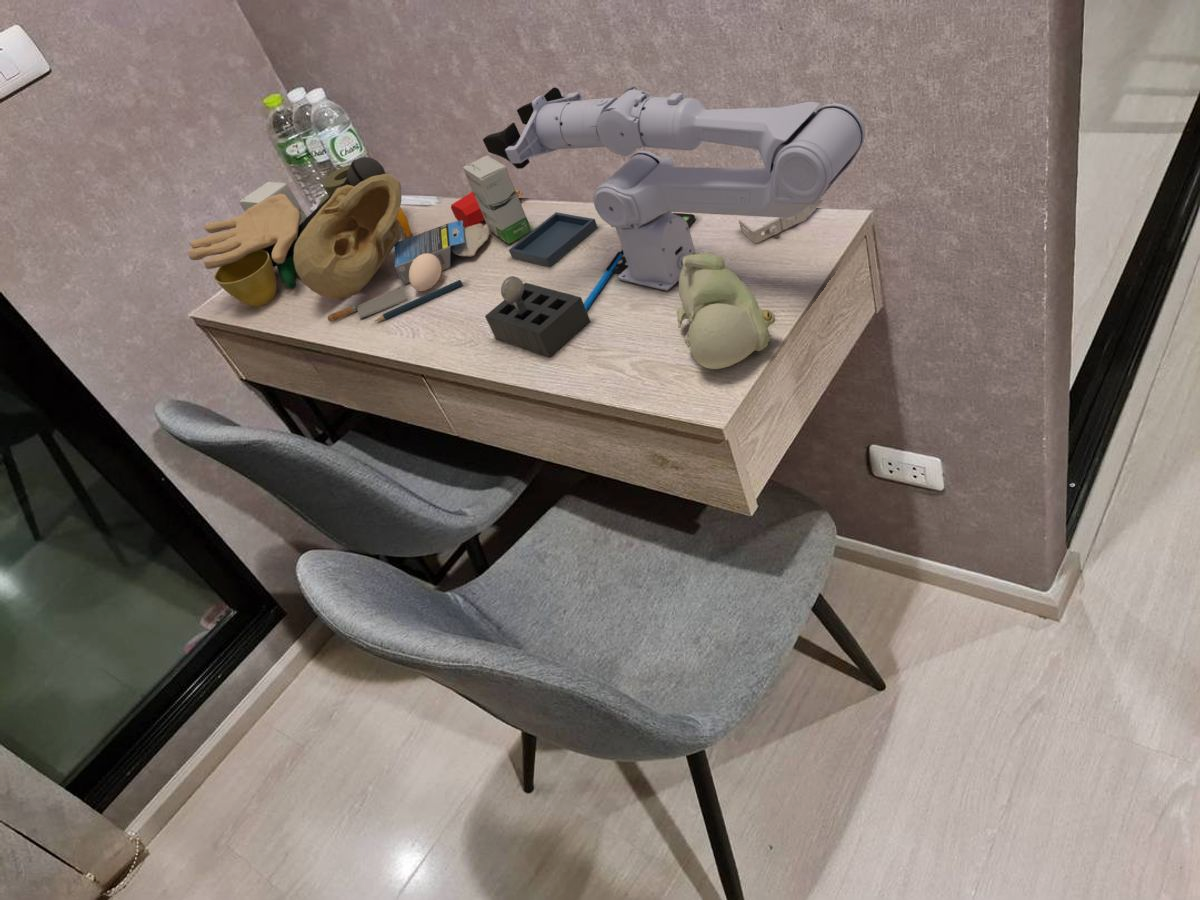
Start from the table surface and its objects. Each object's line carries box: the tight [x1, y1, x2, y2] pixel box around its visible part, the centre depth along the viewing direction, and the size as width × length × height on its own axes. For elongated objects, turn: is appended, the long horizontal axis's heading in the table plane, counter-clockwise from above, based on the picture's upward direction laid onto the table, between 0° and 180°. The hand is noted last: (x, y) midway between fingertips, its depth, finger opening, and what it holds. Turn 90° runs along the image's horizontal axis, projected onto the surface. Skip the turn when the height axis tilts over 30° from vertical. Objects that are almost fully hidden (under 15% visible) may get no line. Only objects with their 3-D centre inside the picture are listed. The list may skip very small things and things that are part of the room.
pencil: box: [374, 279, 464, 322], centre depth 134 cm, size 1×1×15 cm
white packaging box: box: [238, 181, 308, 225], centre depth 162 cm, size 7×7×13 cm
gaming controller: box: [276, 254, 300, 289], centre depth 155 cm, size 9×4×6 cm
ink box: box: [462, 154, 533, 245], centre depth 139 cm, size 9×5×12 cm, turn 29°
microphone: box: [298, 156, 386, 236], centre depth 150 cm, size 7×7×20 cm
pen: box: [583, 249, 624, 312], centre depth 120 cm, size 1×19×1 cm, turn 154°
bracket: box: [738, 200, 823, 244], centre depth 118 cm, size 2×6×15 cm
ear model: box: [293, 173, 403, 300], centre depth 140 cm, size 13×20×20 cm
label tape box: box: [394, 220, 465, 286], centre depth 142 cm, size 9×4×12 cm
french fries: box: [450, 190, 524, 228], centre depth 150 cm, size 8×4×12 cm
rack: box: [484, 282, 591, 358], centre depth 116 cm, size 12×8×4 cm
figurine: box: [676, 253, 776, 370], centre depth 101 cm, size 10×16×10 cm
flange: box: [317, 163, 389, 208], centre depth 155 cm, size 5×15×15 cm
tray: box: [508, 211, 598, 268], centre depth 135 cm, size 9×11×2 cm
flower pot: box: [214, 250, 277, 308], centre depth 152 cm, size 10×10×7 cm
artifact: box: [450, 223, 490, 257], centre depth 142 cm, size 7×3×10 cm
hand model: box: [187, 194, 301, 270], centre depth 149 cm, size 19×5×20 cm
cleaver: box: [327, 285, 409, 323], centre depth 138 cm, size 13×1×5 cm
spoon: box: [500, 275, 529, 320], centre depth 114 cm, size 1×3×10 cm, turn 138°
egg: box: [409, 253, 442, 292], centre depth 136 cm, size 5×5×7 cm
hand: (504, 130), depth 119 cm, fingers open, 7 cm apart
